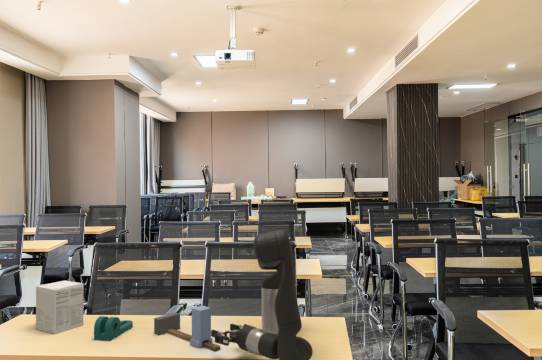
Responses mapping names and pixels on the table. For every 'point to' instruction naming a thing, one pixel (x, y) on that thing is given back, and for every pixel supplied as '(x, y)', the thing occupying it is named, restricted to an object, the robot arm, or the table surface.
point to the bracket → (110, 328)
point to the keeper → (201, 326)
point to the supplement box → (59, 306)
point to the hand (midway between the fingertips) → (221, 329)
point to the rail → (188, 337)
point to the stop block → (166, 323)
